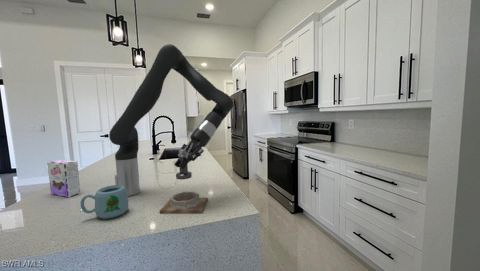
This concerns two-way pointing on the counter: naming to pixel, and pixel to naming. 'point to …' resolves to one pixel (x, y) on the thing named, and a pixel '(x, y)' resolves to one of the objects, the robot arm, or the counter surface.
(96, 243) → the counter surface
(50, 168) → the candy box
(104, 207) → the mug
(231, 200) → the counter surface
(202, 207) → the stand
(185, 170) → the grey post on base
